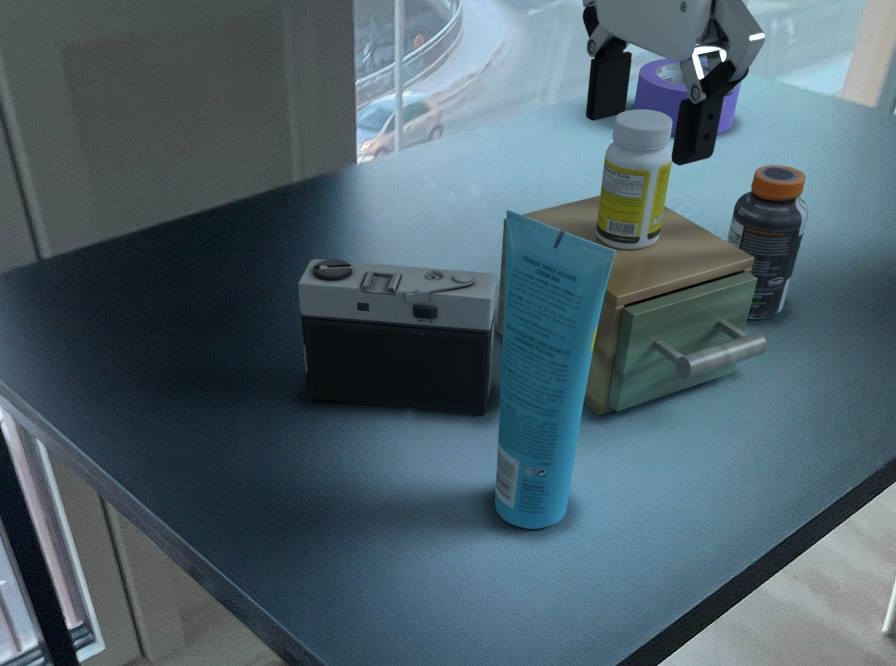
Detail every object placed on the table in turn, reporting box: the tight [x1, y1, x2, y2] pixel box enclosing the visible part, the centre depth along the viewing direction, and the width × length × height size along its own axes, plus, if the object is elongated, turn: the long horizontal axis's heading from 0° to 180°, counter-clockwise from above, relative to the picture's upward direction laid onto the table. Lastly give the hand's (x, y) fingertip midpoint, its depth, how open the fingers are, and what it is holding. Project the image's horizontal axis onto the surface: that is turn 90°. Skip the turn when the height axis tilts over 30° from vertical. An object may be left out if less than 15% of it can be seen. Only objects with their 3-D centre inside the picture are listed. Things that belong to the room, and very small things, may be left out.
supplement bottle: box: [596, 109, 673, 249], centre depth 73 cm, size 5×5×8 cm
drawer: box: [608, 272, 768, 412], centre depth 77 cm, size 18×11×8 cm, turn 29°
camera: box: [297, 258, 498, 416], centre depth 76 cm, size 14×8×10 cm, turn 80°
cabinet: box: [496, 195, 754, 416], centre depth 80 cm, size 15×13×10 cm
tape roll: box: [632, 58, 742, 137], centre depth 119 cm, size 12×12×5 cm
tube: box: [494, 209, 616, 530], centre depth 62 cm, size 7×5×19 cm, turn 52°
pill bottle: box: [726, 164, 809, 320], centre depth 85 cm, size 6×6×11 cm
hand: (646, 137), depth 71 cm, fingers open, 9 cm apart
